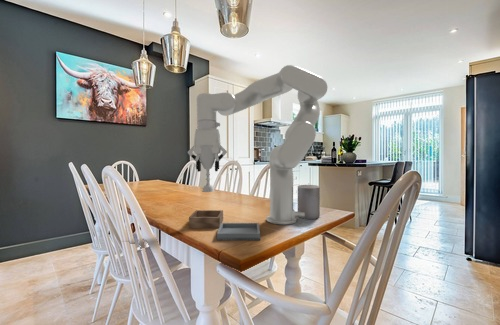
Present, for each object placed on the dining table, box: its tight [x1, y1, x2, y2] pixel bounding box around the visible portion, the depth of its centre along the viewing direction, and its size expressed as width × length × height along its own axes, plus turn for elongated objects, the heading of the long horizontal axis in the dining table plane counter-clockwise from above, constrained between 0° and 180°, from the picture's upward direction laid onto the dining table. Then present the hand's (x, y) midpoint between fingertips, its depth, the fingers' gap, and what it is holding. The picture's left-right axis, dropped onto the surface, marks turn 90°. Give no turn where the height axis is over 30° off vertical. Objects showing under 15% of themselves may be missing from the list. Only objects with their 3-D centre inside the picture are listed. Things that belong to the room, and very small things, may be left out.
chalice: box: [200, 146, 216, 193], centre depth 94 cm, size 7×7×18 cm
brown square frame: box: [188, 209, 224, 229], centre depth 95 cm, size 12×12×4 cm
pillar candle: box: [297, 183, 321, 220], centre depth 106 cm, size 10×10×15 cm
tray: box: [216, 222, 261, 241], centre depth 83 cm, size 14×12×2 cm
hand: (207, 170), depth 95 cm, fingers closed on chalice, 6 cm apart
